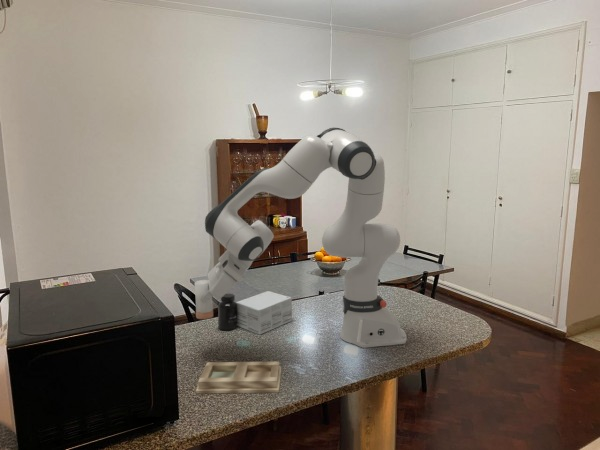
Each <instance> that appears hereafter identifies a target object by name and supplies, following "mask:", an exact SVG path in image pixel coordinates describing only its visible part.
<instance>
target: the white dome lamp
mask: <svg viewBox="0 0 600 450" xmlns="http://www.w3.org/2000/svg"><path fill="white" fill-rule="evenodd" d="M208 290H209V280H208V279H200V280H196V281H195V282H194V294H195V317H196V319H198V320H208V319H212V318H213V317H214V308H213V307H214V306H213V297H212V298H210V299H209V300H208V301H207V302H206V303H203V302H201V297H202V296H203V295H205V294H206V293H207V292H208Z"/></svg>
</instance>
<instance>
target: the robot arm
mask: <svg viewBox="0 0 600 450" xmlns="http://www.w3.org/2000/svg"><path fill="white" fill-rule="evenodd" d="M330 168H332V169H335V170H336V171H338V172H339V173H340V174H341V175H342V176H344V177H346V178H348V184H347V197H346V203H345V207H344V210H343V212H342V213H341V215H340V217H339V218H338V219H337V220H336V221H335V222H334V223H333V224H331V225H330V226H328V227H326V229H325V231H324V232H323V234H322V238H321V244H322V247H323V250H324V251H325V253H326V254H327V255H328V256H331V257H337V258H361V259H360V260H359V262H358V263H357V264H356V265H354V266H351V268H349V269H347V270H346V272H345V274H344V279H343V280H344V282H343V283H344V291H343V293H344V294H343V296H342V312H343V317H342V325H341V329H340V332H339V337H340V339H341V340H343V341H344V342H347V343H349V344H352V345H353V344H354V345H356V346H358V347H360V348H363V349H364V348H375V347H376V348H377V347H384V346H394V345H395V346H396V345H404V344H406V342H407V339H408V338H407V333H406V332H405V330H404V329H403V328H402V327H400V323H399V320H398V318H397V317H396V315H395V314H394V313H393V312H391V311H389V310H388V309H386V307H387V302H386V301H385V300H384V298H383V297H381V296H380V295H378V288H379V287H378V285H379V276H380V272H381V270H382V268H383V266H384V264H385V263H386V262H387V260H388V259H389V258H390V257H392V256H393V255H394V254H395V253H396V252H397V251H398V249H399V247H400V243H401V235H400V232H399V231H398V229H397V228H396V227H395V226H394V225H392V224H386V223H380V222H379V223H368V222H370V221H371V220H373V219H375V218H376V217H378V216H379V214H380V213H381V211H382V208H383V202H384V201H383V200H384V192H385V180H386V177H385V174H386V170H385V162H384V159H383V157H382V156H381V155H380V154H379V153H376V152H374V151H373V150H372V148H371V146H370V145H368V143H366V142H364V141H363V140H362V139H360V137H358V136H357V135H355V134H353V133H350V132H347V131H346V130H345V129H344V128H340V127H329V128H327V129H325V130H323V131H322V132H321V133H319V134H317V135H312V134H309V135H306V136H304V137H303V138H302V139H301V140H299V141H298V142H297V143H296V144H295V145H294V146H293V147H292V148H291V149H290V150H289V151H288V152H287V153H286V154H285V155H284V157H282V159H281V161H279V162H278V163H277V164H276V165H274V166H273V167H271V168H261V169H259V170H258V171H255V173H253V174H252V175H251V176H250V177H249V178H247V179H246V181H244V182H243V183H242V184H241V185H240V186H239V187H238V188H236V189H235V190H234V191H233V192H232V193H231V194H230V195H228V197H227V198H225V199H224V200H223V201H222V202H221V203H219V204H218V205H216V206H215V207H214V208H212V209H211V210H210V211H209V212H208V214H206V216H205V218H204V227H205V232H206V233H207V234H209V236H211V237H212V238H214V240H217V242H219V243H220V245H221V246H223V247H224V248H225V249H226V250H225V251H224V253H222V254H221V256H220V257H219V258H218V259H217V261H218V263H216V264H215V265H214V266H213V267H212V269H210V270H209V272H208V273H207V280H209V290H208V292H207V293H206V294H205V295H203V296H202V297H201V302H203V303H206V302H207V301H208V300H209V299H210V298H212V299H213V297H214V298H215V299H216V300H221V298H222V297H223V296H224V295H225V294H228V292H229V291H230V290H232V288H234V286H235V285H236V284H237V282H238V283H240V282H241V281H242V280H243V278H244V277H245V276H244V275H245V273H246V272H247V271H248V270H249V268H250V267H251V266H252V264H253V262H254V261H256V260H257V259H258V258H259V257H260V256H261V255H263V253H264V252H265V250H266V249H268V246H270V244H271V243H272V242H273V241H272V240H273V239H274V237H275V236H274V235H275V234H274V232H273V230H272V229H271V228H270V227H269V225H267V224H266V223H265V222H264V221H262V220H261V219H260V220H259V219H257V220H255V221H254V222H253V223H252V224H251V225H250V224H248V223H247V222H246V221H245V220H244V219H243V218H242V217H241V216H240V215H239V214H238V211H239V210H240V209H241V208H242V207H243V206H244V205H245V204H247V203H248V202H249V201H250V200H251V199H252V198H254V196H256V195H257V194H260V193H268V194H270V195H273V196H276V197H279V198H282V199H286V200H287V199H288V200H291V199H297V198H300V197H302V196H303V195H305V193H307V191H308V190H309V189H310V188H311V186H312V185H313V184H314V183H315V182H316V180H317V179H318V178H319V177H320V175H321V174H322V173H323V172H324V171H326V170H327V169H330Z"/></svg>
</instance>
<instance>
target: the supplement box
mask: <svg viewBox="0 0 600 450" xmlns="http://www.w3.org/2000/svg"><path fill="white" fill-rule="evenodd" d="M235 302H236V303H237V327H240V328H241V329H243V330H246V331H249V332H252V333H254V334H257V335H262V334H264V333H266V332H269V331H271V330H273V329H276V328H278V327H281V326H283V325H285V324H288V323H290V322H292V321H293V304H292V303H293V299H292V297H291V296H288V295H284V294H280V293H277V292H273V291H270V290H267V291H263V292H261V293H259V294H258V293H257V294H256V295H253V296H249V297H247V298H244V299H241V300H238V301H235Z"/></svg>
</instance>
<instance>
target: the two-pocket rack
mask: <svg viewBox="0 0 600 450" xmlns="http://www.w3.org/2000/svg"><path fill="white" fill-rule="evenodd" d="M281 375H282V365H281V366H280V361H217V362H216V361H212V362H211V361H210V362H209V361H208V362H206V364H205V366H204V369H203V371H202V373H201V375H200V376H199V379H198V381H197V384H198V385H197V387H196V389H195V394H258V393H259V394H262V393H263V394H271V393H272V394H275V393H276V394H278V393H279V392H280V385H281Z"/></svg>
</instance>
